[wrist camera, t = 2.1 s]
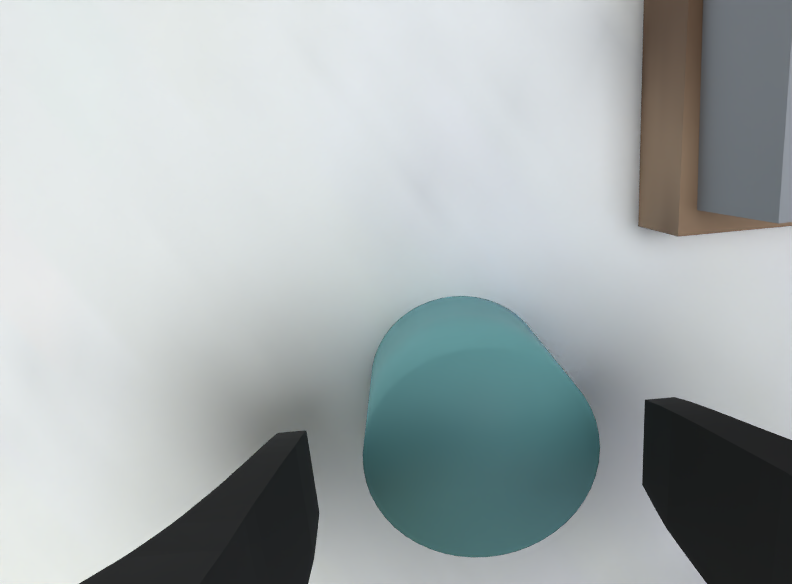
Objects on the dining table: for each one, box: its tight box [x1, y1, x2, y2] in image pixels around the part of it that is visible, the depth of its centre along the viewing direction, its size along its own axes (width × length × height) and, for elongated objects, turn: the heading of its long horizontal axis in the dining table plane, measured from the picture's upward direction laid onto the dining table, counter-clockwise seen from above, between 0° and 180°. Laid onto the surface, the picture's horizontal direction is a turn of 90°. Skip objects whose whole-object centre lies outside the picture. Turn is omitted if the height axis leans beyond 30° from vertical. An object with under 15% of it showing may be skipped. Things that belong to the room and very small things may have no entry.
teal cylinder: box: [363, 296, 600, 557], centre depth 13 cm, size 5×5×4 cm
